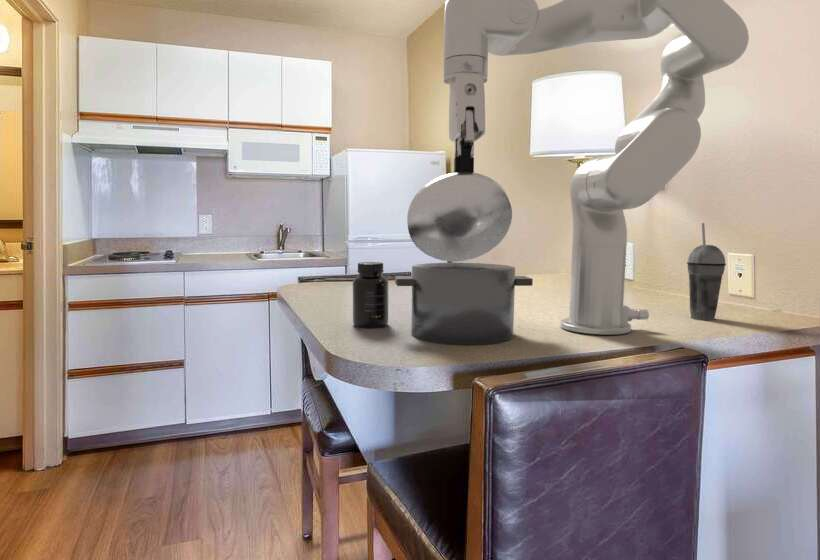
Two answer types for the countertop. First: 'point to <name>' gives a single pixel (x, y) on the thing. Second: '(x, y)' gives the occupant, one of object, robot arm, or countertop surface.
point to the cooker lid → (459, 216)
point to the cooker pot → (463, 302)
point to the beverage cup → (705, 279)
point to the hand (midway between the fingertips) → (463, 180)
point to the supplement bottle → (370, 296)
